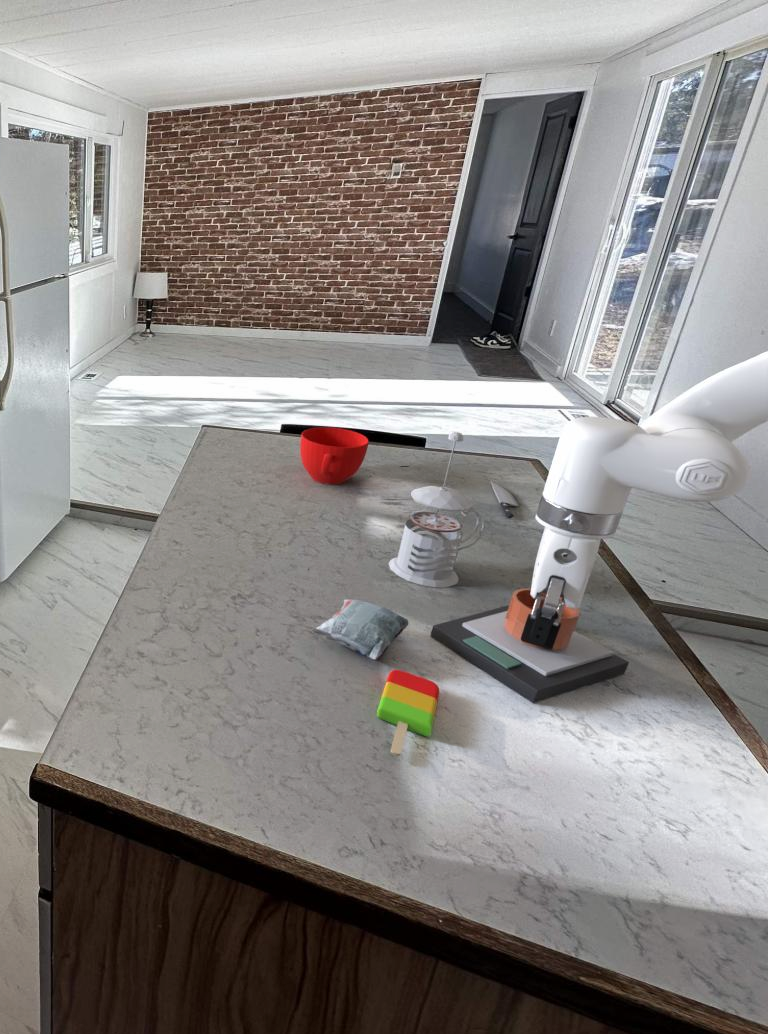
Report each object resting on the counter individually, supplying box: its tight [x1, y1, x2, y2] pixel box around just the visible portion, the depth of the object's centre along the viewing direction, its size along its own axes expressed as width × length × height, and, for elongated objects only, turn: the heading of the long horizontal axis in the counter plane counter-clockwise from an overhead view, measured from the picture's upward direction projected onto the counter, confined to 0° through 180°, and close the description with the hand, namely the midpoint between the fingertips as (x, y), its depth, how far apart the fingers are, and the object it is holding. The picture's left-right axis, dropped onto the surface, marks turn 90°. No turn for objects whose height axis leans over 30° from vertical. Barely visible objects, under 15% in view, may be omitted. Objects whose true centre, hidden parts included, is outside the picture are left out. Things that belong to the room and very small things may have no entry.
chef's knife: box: [490, 481, 519, 519], centre depth 129 cm, size 19×1×3 cm
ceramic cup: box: [299, 426, 369, 485], centre depth 140 cm, size 13×17×10 cm
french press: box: [388, 431, 485, 588], centre depth 103 cm, size 10×12×25 cm
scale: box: [430, 604, 630, 704], centre depth 87 cm, size 16×14×3 cm
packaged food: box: [311, 598, 409, 661], centre depth 92 cm, size 9×12×5 cm
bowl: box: [504, 588, 582, 650], centre depth 86 cm, size 7×7×6 cm
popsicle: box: [376, 669, 440, 757], centre depth 78 cm, size 6×15×2 cm, turn 140°
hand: (539, 626), depth 87 cm, fingers open, 9 cm apart
